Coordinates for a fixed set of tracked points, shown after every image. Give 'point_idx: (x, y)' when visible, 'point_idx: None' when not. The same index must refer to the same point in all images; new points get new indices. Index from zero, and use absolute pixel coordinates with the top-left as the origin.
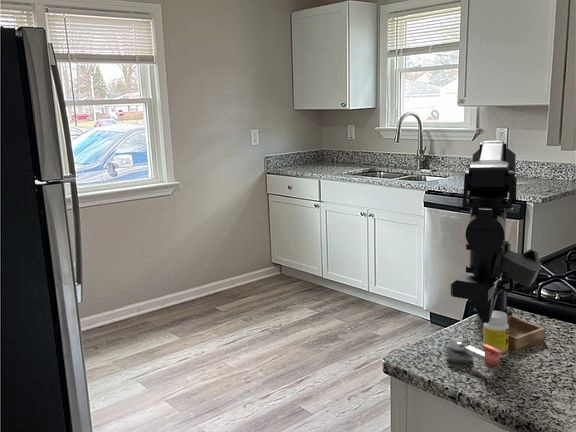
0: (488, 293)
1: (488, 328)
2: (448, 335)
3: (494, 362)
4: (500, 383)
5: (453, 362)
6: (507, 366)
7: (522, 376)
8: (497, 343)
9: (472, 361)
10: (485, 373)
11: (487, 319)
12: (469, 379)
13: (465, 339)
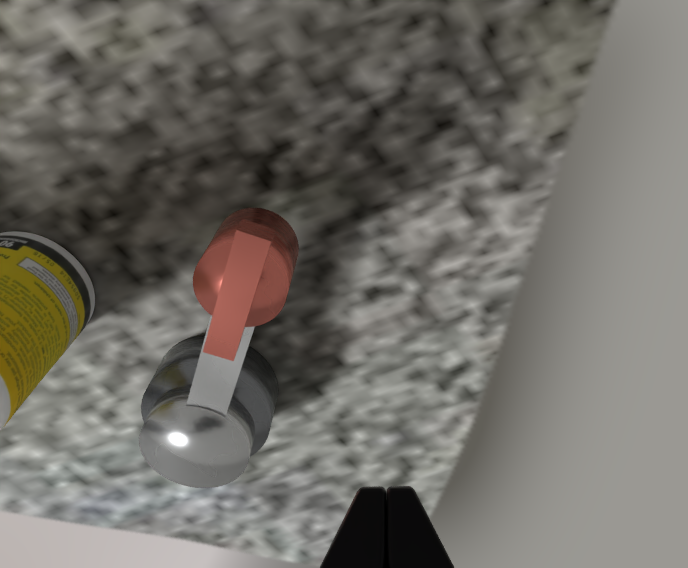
0: None
1: (8, 407)
2: (47, 488)
3: (281, 235)
4: (325, 149)
5: (277, 393)
6: (121, 187)
7: (169, 77)
8: (36, 305)
9: (201, 336)
10: None
11: (434, 530)
12: (377, 285)
13: (141, 441)
